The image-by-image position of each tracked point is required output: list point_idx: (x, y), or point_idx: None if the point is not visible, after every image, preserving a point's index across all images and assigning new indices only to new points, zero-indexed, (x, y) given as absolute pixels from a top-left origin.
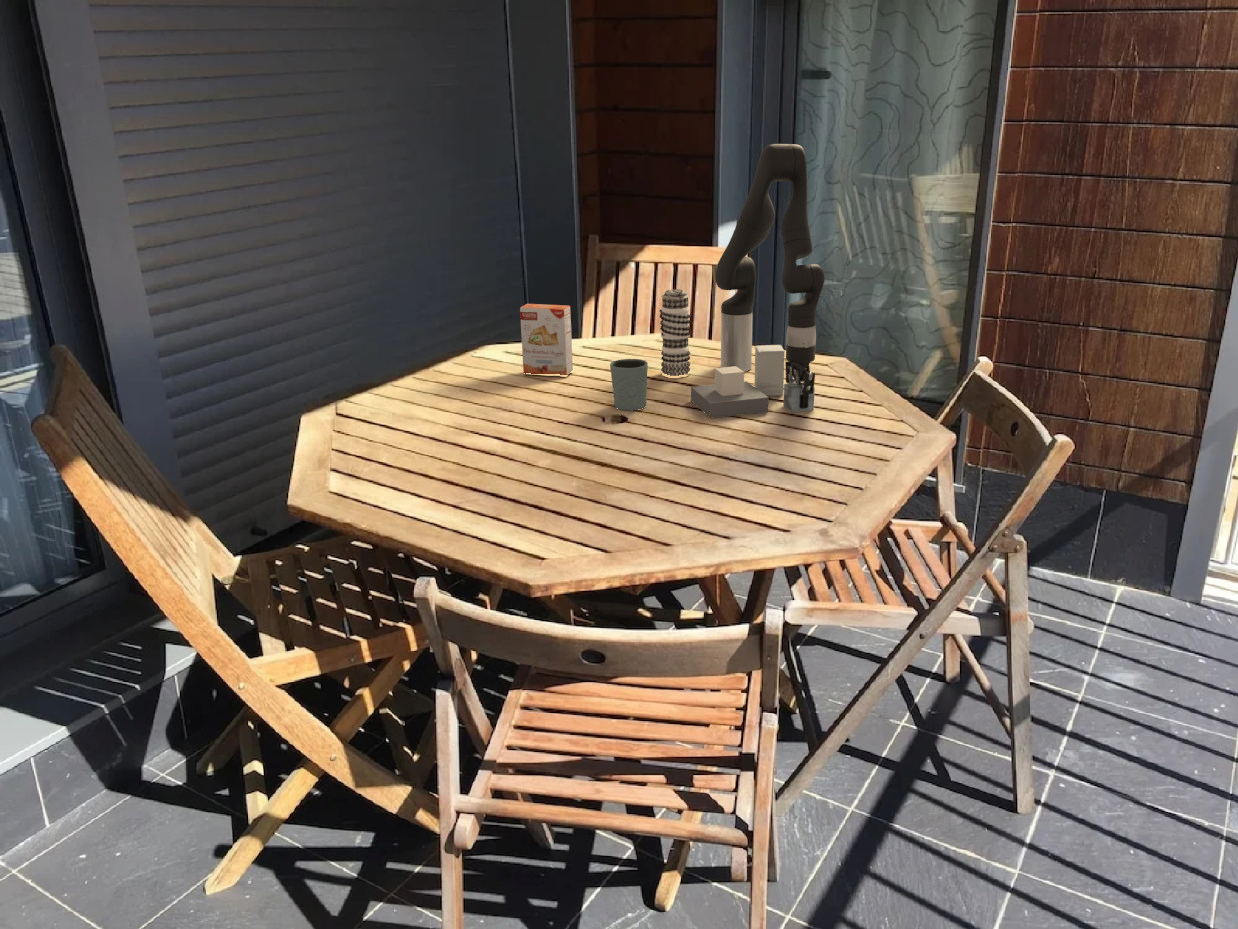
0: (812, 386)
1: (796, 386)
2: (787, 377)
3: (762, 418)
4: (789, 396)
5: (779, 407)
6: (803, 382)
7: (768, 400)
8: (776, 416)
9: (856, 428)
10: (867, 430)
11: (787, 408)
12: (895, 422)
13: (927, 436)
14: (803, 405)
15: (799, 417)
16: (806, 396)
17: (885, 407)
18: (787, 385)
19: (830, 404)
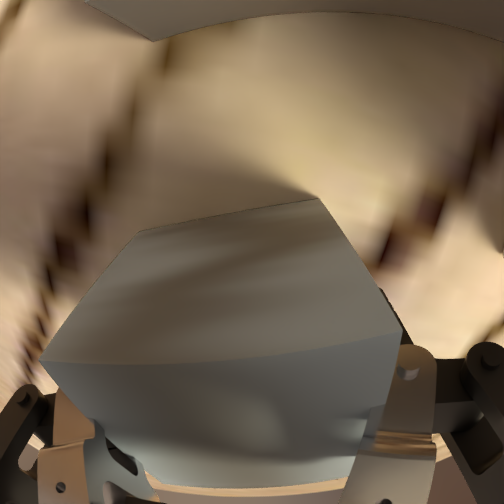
0: (32, 470)
1: (202, 434)
2: (498, 408)
3: (37, 22)
4: (171, 278)
5: (273, 153)
6: (347, 470)
7: (105, 12)
8: (53, 104)
9: (12, 382)
10: (11, 392)
11: (232, 213)
12: None
13: (33, 440)
14: None
15: (44, 250)
16: None
17: None
18: (280, 366)
19: None
